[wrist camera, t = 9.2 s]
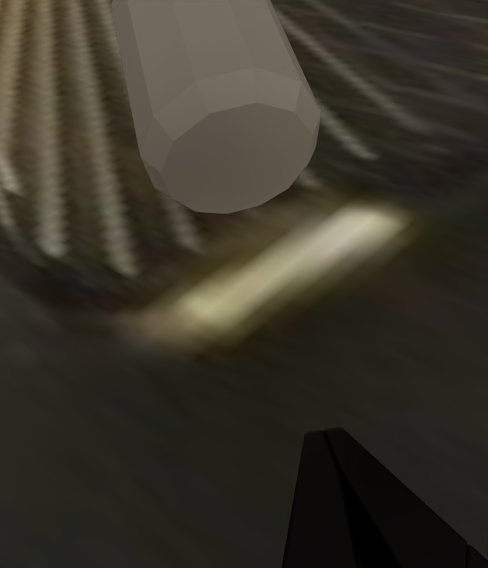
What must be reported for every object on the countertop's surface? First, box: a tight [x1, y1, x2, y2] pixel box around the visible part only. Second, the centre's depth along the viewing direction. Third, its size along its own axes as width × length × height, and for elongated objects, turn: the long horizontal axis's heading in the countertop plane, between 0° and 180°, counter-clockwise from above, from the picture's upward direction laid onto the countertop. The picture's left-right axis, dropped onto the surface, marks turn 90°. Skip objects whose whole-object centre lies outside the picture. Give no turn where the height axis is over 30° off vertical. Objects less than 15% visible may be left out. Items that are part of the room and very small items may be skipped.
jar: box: [111, 0, 321, 214], centre depth 24 cm, size 10×10×18 cm
